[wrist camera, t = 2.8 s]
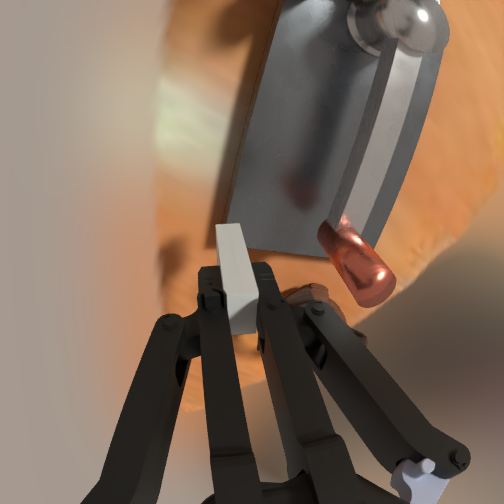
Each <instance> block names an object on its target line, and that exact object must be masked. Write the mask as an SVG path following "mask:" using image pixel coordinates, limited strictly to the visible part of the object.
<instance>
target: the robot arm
mask: <svg viewBox="0 0 504 504" xmlns="http://www.w3.org/2000/svg"><path fill="white" fill-rule="evenodd" d="M216 249H217V265H218V266H206V267H201V269H200V270H199V272H198V289H199V293H198V295H197V302H198V309H197V310H196V311H195V312H194V313H193V314H191V315H189V316H186V317H183V318H182V317H181V316H179V315H177V314H165V315H163V316H161V317H160V318H158V320H157V321H156V323H155V326H154V328H153V331H152V333H151V336H150V338H149V341H148V343H147V345H146V348H145V350H144V353H143V355H142V358H141V361H140V363H139V366H138V368H137V371H136V373H135V376H134V379H133V381H132V384H131V387H130V390H129V392H128V395H127V398H126V401H125V403H124V406H123V409H122V412H121V414H120V417H119V420H118V423H117V426H116V429H115V432H114V435H113V438H112V441H111V444H110V447H109V450H108V454H107V457H106V460H105V463H104V467H103V470H102V474H101V477H100V480H99V481H98V482H97V484H96V485H95V486H94V488H93V489H92V490H91V491H90V492H89V494H88V495H87V496H86V497H85V498H84V500H83V501H82V502H81V503H80V504H156V503H157V499H158V496H159V493H160V489H161V484H162V479H163V474H164V470H165V466H166V461H167V457H168V453H169V448H170V444H171V440H172V435H173V431H174V427H175V423H176V419H177V415H178V411H179V407H180V403H181V399H182V395H183V391H184V387H185V383H186V379H187V375H188V371H189V367H190V363H191V359H192V358H195V357H198V356H201V362H202V376H203V388H204V400H205V410H206V421H207V430H208V438H209V448H210V464H211V471H212V480H213V487H214V494H212V495H211V496H209V497H208V498H206V499H205V500H204V501H203V502H202V503H201V504H436V503H437V501H438V500H439V498H440V496H441V494H442V493H443V491H444V489H445V487H446V485H447V484H448V482H449V480H450V479H451V478H452V477H454V476H456V475H458V474H460V473H461V472H463V471H464V470H466V469H467V467H468V466H469V463H470V459H471V457H470V452H469V450H468V448H467V447H466V446H465V445H463V444H462V443H460V442H458V441H456V440H455V439H453V438H451V437H450V436H448V435H446V434H445V433H443V432H441V431H440V430H438V429H436V428H435V427H433V426H432V425H431V424H430V423H429V422H428V420H427V419H426V418H425V417H424V416H423V414H422V413H421V412H420V411H419V409H418V408H417V407H416V406H415V405H414V403H413V402H412V401H411V400H410V399H409V397H408V396H407V395H406V394H405V393H404V391H403V390H402V389H401V388H400V387H399V385H398V384H397V383H396V382H395V381H394V379H393V378H392V377H391V376H390V375H389V373H388V372H387V371H386V370H385V369H384V368H383V366H382V365H381V364H380V363H379V362H378V361H377V359H376V358H375V357H374V356H373V355H372V354H371V352H370V351H369V350H368V349H367V348H366V347H365V345H364V344H363V343H362V342H361V341H360V340H359V338H358V337H357V336H356V335H355V334H354V333H353V331H352V330H351V329H350V328H349V327H348V326H347V325H346V323H345V322H344V321H343V320H342V319H341V318H340V317H339V315H338V314H337V313H336V312H335V311H334V310H333V309H332V307H331V306H330V305H328V304H327V303H326V302H323V301H319V300H314V301H310V302H308V303H307V304H306V306H305V307H301V306H295V305H291V304H289V303H288V302H287V301H286V299H285V298H283V297H282V296H281V293H280V291H279V288H278V285H277V282H276V280H275V277H274V274H273V271H272V269H271V267H270V266H269V265H268V264H267V263H266V262H255V263H250V259H249V255H248V252H247V248H246V245H245V241H244V237H243V234H242V230H241V226H240V223H234V224H216ZM256 329H257V331H258V345H257V351H259V350H260V352H261V357H262V361H263V365H264V369H265V374H266V378H267V382H268V386H269V390H270V394H271V399H272V403H273V407H274V411H275V415H276V419H277V424H278V428H279V432H280V435H281V440H282V444H283V447H284V452H285V456H286V460H287V473H288V478H289V480H288V481H286V482H284V483H271V482H260V480H259V475H258V470H257V466H256V461H255V457H254V453H253V452H252V448H251V443H250V438H249V433H248V428H247V422H246V417H245V412H244V406H243V401H242V396H241V389H240V384H239V378H238V372H237V366H236V360H235V354H234V348H233V342H232V335H242V334H252V333H256ZM312 369H313V370H314V372H315V373H316V375H317V376H318V378H319V379H320V381H321V382H322V383H323V385H324V386H325V388H326V389H327V390H328V392H329V393H330V395H331V396H332V398H333V399H334V401H335V402H336V403H337V405H338V406H339V408H340V409H341V411H342V412H343V413H344V415H345V416H346V418H347V419H348V420H349V422H350V423H351V425H352V426H353V427H354V429H355V430H356V432H357V433H358V435H359V436H360V437H361V439H362V440H363V442H364V443H365V444H366V446H367V447H368V449H369V450H370V451H371V452H372V454H373V455H374V457H375V458H376V459H377V461H378V462H379V463H380V464H381V465H382V466H383V467H384V468H385V469H386V470H387V471H389V472H390V473H391V474H392V477H391V482H390V483H391V484H390V485H391V486H392V488H394V489H395V490H397V492H398V493H399V496H400V498H399V497H397V496H395V495H393V494H391V493H390V492H388V491H386V490H384V489H382V488H381V487H379V486H377V485H375V484H373V483H372V482H370V481H368V480H367V479H365V478H363V477H362V476H360V475H358V474H356V473H355V470H354V467H353V464H352V461H351V459H350V456H349V453H348V450H347V447H346V444H345V442H344V440H343V439H342V437H341V436H340V435H338V434H336V433H335V431H334V429H333V426H332V423H331V420H330V418H329V415H328V412H327V409H326V406H325V404H324V401H323V398H322V395H321V392H320V389H319V386H318V384H317V381H316V378H315V375H314V373H313V370H312Z"/></svg>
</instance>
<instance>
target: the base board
mask: <svg viewBox="0 0 504 504" xmlns="http://www.w3.org/2000/svg"><path fill="white" fill-rule="evenodd" d="M364 1H367V0H279V2H278V6H277V9H276V12H275V16H274V19H273V22H272V26H271V29H270V33H269V36H268V40H267V43H266V47H265V50H264V54H263V57H262V61H261V65H260V68H259V72H258V76H257V79H256V83H255V87H254V91H253V95H252V98H251V102H250V106H249V110H248V114H247V118H246V122H245V126H244V130H243V134H242V138H241V142H240V146H239V150H238V155H237V159H236V163H235V167H234V172H233V176H232V180H231V185H230V189H229V193H228V198H227V202H226V207H225V211H224V216H223V221H222V224H234V223H240V226H241V230H242V234H243V237H244V241H245V245H246V248H252V249H260V250H268V251H277V252H285V253H293V254H301V255H309V256H318V257H326V258H329V257H328V255H327V254H326V252H325V251H324V249H323V248H322V246H321V245H320V243H319V242H318V239H317V231H318V229H319V227H320V225H321V224H322V223H323V222H324V221H325V220H326V219H327V217H328V215H329V212H330V209H331V207H332V204H333V201H334V198H335V196H336V193H337V190H338V187H339V185H340V182H341V179H342V176H343V173H344V171H345V168H346V165H347V162H348V159H349V156H350V153H351V150H352V147H353V144H354V141H355V138H356V135H357V132H358V129H359V126H360V123H361V119H362V116H363V113H364V110H365V106H366V103H367V100H368V97H369V93H370V90H371V86H372V83H373V79H374V76H375V72H376V69H377V65H378V62H379V58H380V54H381V52H380V51H377V50H375V49H373V48H372V47H370V46H369V45H368V44H367V43H366V42H365V41H364V40H363V39H362V38H361V36H360V34H359V33H358V31H357V28H356V24H355V12H356V10H357V8H358V6H359V5H360V4H361V3H363V2H364ZM443 50H444V49H443ZM443 50H442V51H440V52H438V53H423V55H422V60H421V64H420V68H419V71H418V75H417V79H416V83H415V86H414V90H413V93H412V97H411V100H410V104H409V107H408V110H407V114H406V117H405V120H404V123H403V126H402V129H401V132H400V135H399V138H398V141H397V144H396V147H395V150H394V153H393V155H392V158H391V161H390V164H389V166H388V169H387V172H386V175H385V177H384V180H383V182H382V185H381V188H380V190H379V193H378V195H377V198H376V200H375V203H374V205H373V207H372V210H371V212H370V215H369V217H368V219H367V222H366V224H365V226H364V229H363V231H362V233H361V236H362V237H363V238H364V239H365V240H366V242H367V243H368V244H369V245H370V246H371V247H372V249H373V250H374V248H375V245H376V243H377V241H378V239H379V237H380V235H381V233H382V230H383V228H384V226H385V224H386V222H387V219H388V217H389V215H390V212H391V210H392V208H393V205H394V203H395V201H396V198H397V196H398V193H399V191H400V188H401V186H402V183H403V181H404V178H405V176H406V173H407V170H408V168H409V165H410V162H411V160H412V157H413V154H414V151H415V149H416V146H417V143H418V140H419V137H420V134H421V131H422V128H423V125H424V122H425V118H426V115H427V112H428V109H429V105H430V102H431V98H432V95H433V91H434V87H435V84H436V80H437V76H438V72H439V68H440V63H441V59H442V54H443Z"/></svg>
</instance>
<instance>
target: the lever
mask: <svg viewBox="0 0 504 504" xmlns="http://www.w3.org/2000/svg"><path fill="white" fill-rule="evenodd" d="M355 24H356V28H357V31H358V33H359V34H360V36H361V38H362V39H363V40H364V41H365V42H366V43H367V44H368V45H369V46H370V47H372V48H373V49H375V50H377V51H380V52H381V54H380V58H379V62H378V65H377V69H376V72H375V76H374V79H373V83H372V86H371V90H370V93H369V97H368V100H367V103H366V106H365V110H364V113H363V116H362V119H361V123H360V126H359V129H358V132H357V135H356V138H355V141H354V144H353V147H352V150H351V153H350V156H349V159H348V162H347V165H346V168H345V171H344V173H343V176H342V179H341V182H340V185H339V187H338V190H337V193H336V196H335V198H334V201H333V204H332V207H331V209H330V212H329V215H328V217H327V219H326V220H325V221H324V222H323V223H322V224H321V225H320V227H319V229H318V231H317V239H318V242H319V243H320V245H321V246H322V248H323V249H324V251H325V252H326V254H327V255H328V257H329V259H330V260H331V262H332V263H333V265H334V266H335V268H336V269H337V271H338V273H339V274H340V276H341V277H342V279H343V281H344V282H345V284H346V285H347V287H348V289H349V290H350V292H351V294H352V295H353V297H354V298H355V300H356V302H357V303H358V305H359V306H361V307H364V308H370V307H374V306H377V305H379V304H380V303H382V302H384V301H385V300H386V299H387V298H388V297H389V296H390V295H391V294H392V292H393V290H394V288H395V286H396V277H395V275H394V274H393V273H392V271H391V270H390V269H389V268H388V266H387V265H386V264H385V263H384V262H383V260H382V259H381V258H380V257H379V256H378V254H377V253H376V252H375V251H374V250H373V249H372V247H371V246H370V245H369V244H368V243H367V242H366V240H365V239H364V238H363V237H362V236H361V233H362V231H363V229H364V226H365V224H366V222H367V219H368V217H369V215H370V212H371V210H372V207H373V205H374V203H375V200H376V198H377V195H378V193H379V190H380V188H381V185H382V182H383V180H384V177H385V175H386V172H387V169H388V166H389V164H390V161H391V158H392V155H393V153H394V150H395V147H396V144H397V141H398V138H399V135H400V132H401V129H402V126H403V123H404V120H405V117H406V114H407V110H408V107H409V104H410V100H411V97H412V93H413V90H414V86H415V83H416V79H417V75H418V71H419V68H420V64H421V60H422V55H423V53H438V52H440V51H442V50H443V49H444V48H445V47H446V45H447V43H448V41H449V35H450V30H449V24H448V20H447V17H446V15H445V13H444V11H443V9H442V8H441V6H440V0H367V1H364V2H363V3H361V4H360V5H359V6H358V8H357V10H356V12H355Z"/></svg>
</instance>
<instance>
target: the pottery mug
mask: <svg viewBox="0 0 504 504" xmlns="http://www.w3.org/2000/svg"><path fill="white" fill-rule="evenodd" d="M285 299H286V301H287V302H288V303H289V304H291V305H295V306H301V307H305V306H306V304H307V303H308V302H310V301H314V300H319V301H323V302H326V303H327V304H328V305H330V306H331V307H332V309H333V310H334V311H335V312H336V313H337V314H338V315H339V317H340V318H341V319H342V320H343V321H344V322H345V323H346V319H345V316H344V315H343V313H342V311H341V309H340V307H339V306H338V305H337V304H336V303H335V302H334V301H333V300H332V299H329V294H328V289H327V288H326V287H325V286H323V285H320V284H316V283H312V284H311V285H310V288H309V287H304V288H302V289H300V290H298V291H296V292H295V293H293V294H291V295H289V296H288V297H286V298H285ZM346 325H347V323H346ZM347 326H348V325H347ZM348 327H349V326H348ZM349 328H350V327H349ZM350 329H351V330H352V331H353V333H354V334H355V335H356V336H357V337H358V338H359V340H360V341H361V342H362V343H363V344H364V345H365V347H367V344H368V341H367V337H366V336H365V335H364V334H363V333H361V332H359V331H357V330H354V329H352V328H350ZM312 370H313V369H312ZM313 371H314V370H313Z"/></svg>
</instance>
